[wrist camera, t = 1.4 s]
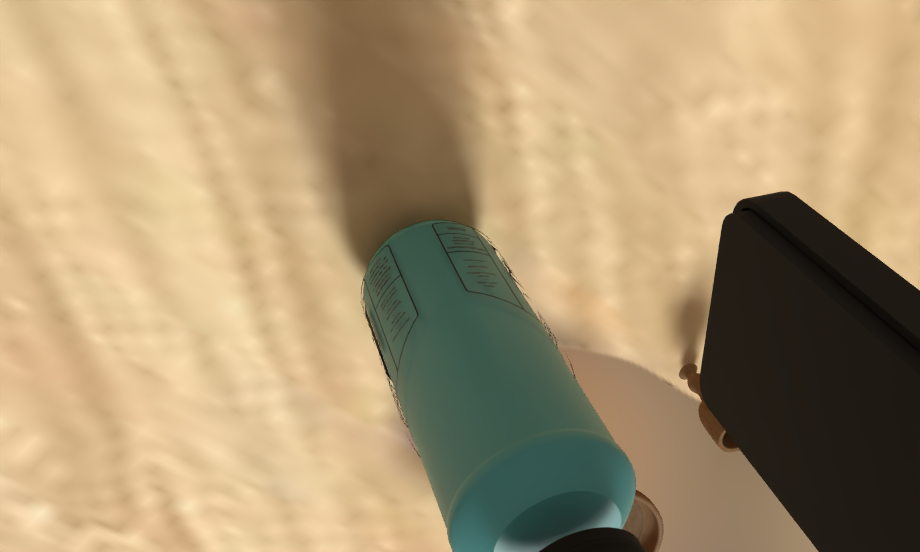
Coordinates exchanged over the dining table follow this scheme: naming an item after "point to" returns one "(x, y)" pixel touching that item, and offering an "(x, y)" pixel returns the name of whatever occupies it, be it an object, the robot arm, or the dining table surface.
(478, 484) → the beverage bottle
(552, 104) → the dining table surface
